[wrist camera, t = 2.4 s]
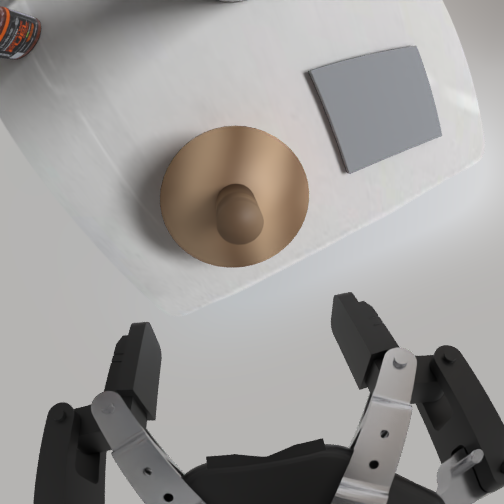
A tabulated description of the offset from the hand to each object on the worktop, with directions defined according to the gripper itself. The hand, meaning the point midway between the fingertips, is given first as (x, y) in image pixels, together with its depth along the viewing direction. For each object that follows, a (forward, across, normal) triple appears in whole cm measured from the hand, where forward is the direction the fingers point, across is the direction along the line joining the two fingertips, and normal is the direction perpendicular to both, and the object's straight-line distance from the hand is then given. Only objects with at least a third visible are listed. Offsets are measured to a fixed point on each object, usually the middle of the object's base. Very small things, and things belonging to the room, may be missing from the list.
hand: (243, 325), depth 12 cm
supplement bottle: (+23, +23, -25) cm, 41 cm away
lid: (+17, -1, 0) cm, 17 cm away
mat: (+22, -20, -9) cm, 31 cm away
